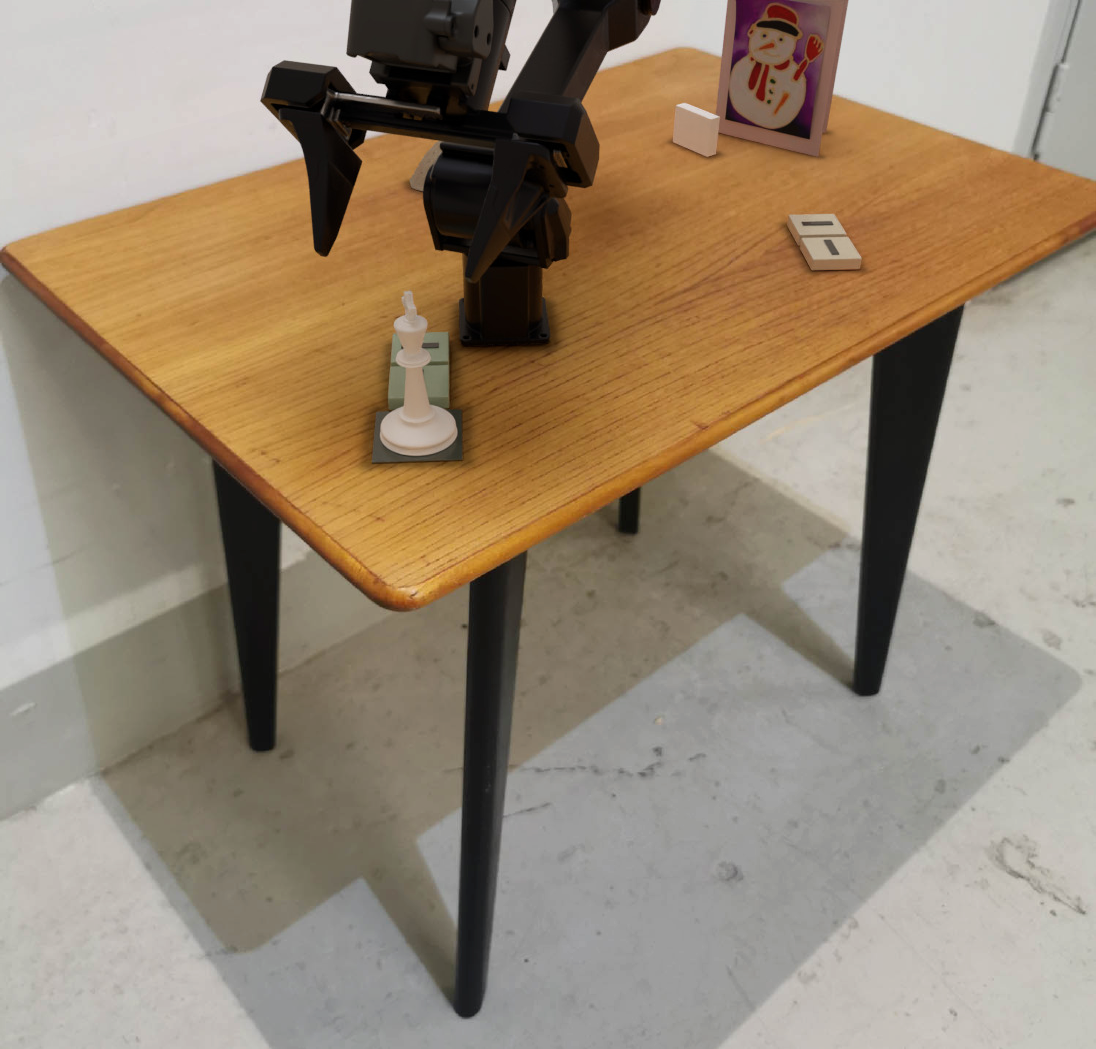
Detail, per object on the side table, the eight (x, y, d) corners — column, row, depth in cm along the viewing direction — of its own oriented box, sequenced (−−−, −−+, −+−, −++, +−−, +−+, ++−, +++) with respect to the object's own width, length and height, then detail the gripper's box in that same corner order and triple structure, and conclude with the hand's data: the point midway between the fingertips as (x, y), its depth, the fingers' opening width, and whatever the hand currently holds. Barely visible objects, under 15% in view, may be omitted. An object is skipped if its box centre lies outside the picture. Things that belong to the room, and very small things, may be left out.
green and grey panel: (462, 460, 70) (461, 445, 69) (371, 463, 69) (370, 448, 69) (460, 343, 81) (460, 329, 80) (382, 345, 81) (381, 331, 80)
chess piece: (444, 406, 74) (436, 267, 68) (467, 447, 71) (461, 304, 64) (371, 421, 73) (356, 280, 66) (391, 463, 69) (377, 319, 63)
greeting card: (709, 134, 113) (726, -28, 104) (743, 113, 118) (762, -43, 108) (814, 159, 108) (841, -7, 99) (845, 136, 113) (874, -25, 104)
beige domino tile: (860, 269, 90) (862, 257, 90) (811, 270, 90) (813, 258, 90) (832, 224, 97) (834, 212, 96) (786, 225, 97) (788, 213, 96)
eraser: (707, 157, 109) (710, 119, 106) (672, 142, 112) (675, 105, 109) (716, 154, 109) (720, 116, 107) (681, 139, 112) (684, 102, 110)
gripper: (251, -100, 59) (171, 182, 57) (592, -70, 54) (513, 238, 53) (337, 20, 69) (272, 260, 68) (628, 54, 65) (563, 312, 64)
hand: (393, 267), depth 63 cm, fingers open, 9 cm apart
